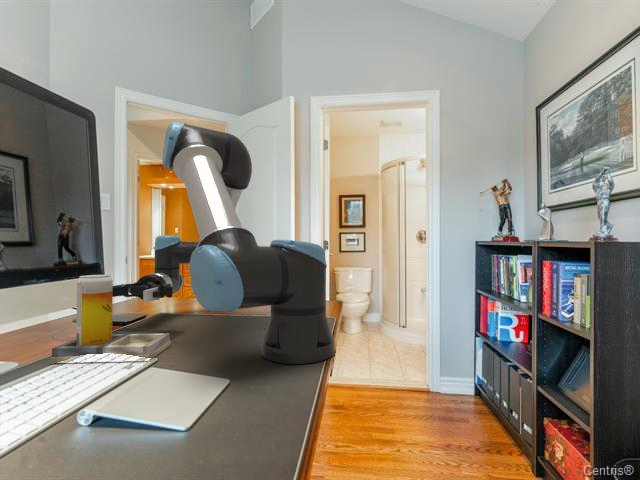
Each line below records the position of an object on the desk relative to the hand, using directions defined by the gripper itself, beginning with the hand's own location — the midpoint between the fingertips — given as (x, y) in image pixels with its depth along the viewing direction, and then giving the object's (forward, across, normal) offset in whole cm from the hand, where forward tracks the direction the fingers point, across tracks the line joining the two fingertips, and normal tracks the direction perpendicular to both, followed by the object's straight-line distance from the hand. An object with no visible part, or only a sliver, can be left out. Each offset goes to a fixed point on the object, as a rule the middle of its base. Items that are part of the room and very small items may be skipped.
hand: (114, 297), depth 74 cm
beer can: (+7, 0, -10) cm, 12 cm away
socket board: (+7, -4, -11) cm, 14 cm away
